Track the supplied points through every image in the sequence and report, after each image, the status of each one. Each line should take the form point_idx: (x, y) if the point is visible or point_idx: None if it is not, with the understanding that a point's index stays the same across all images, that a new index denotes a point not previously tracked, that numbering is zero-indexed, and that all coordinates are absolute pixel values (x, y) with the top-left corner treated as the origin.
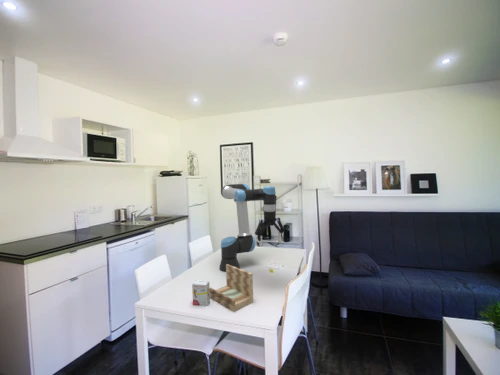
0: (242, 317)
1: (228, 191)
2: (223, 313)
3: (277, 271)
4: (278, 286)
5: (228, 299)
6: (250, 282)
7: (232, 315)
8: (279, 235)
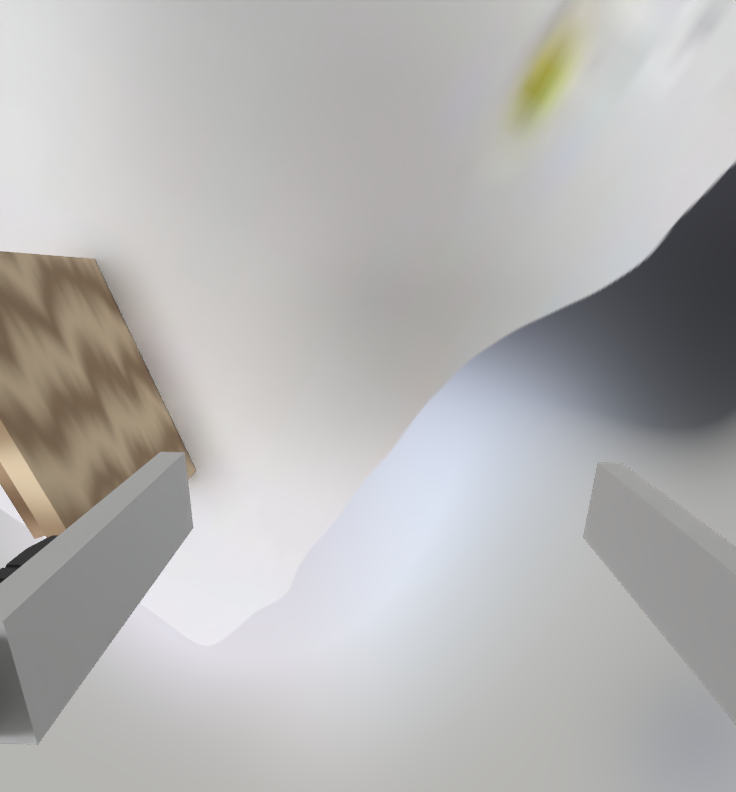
0: None
1: None
2: None
3: (574, 127)
4: (415, 379)
5: (15, 500)
6: None
7: None
8: (709, 652)
